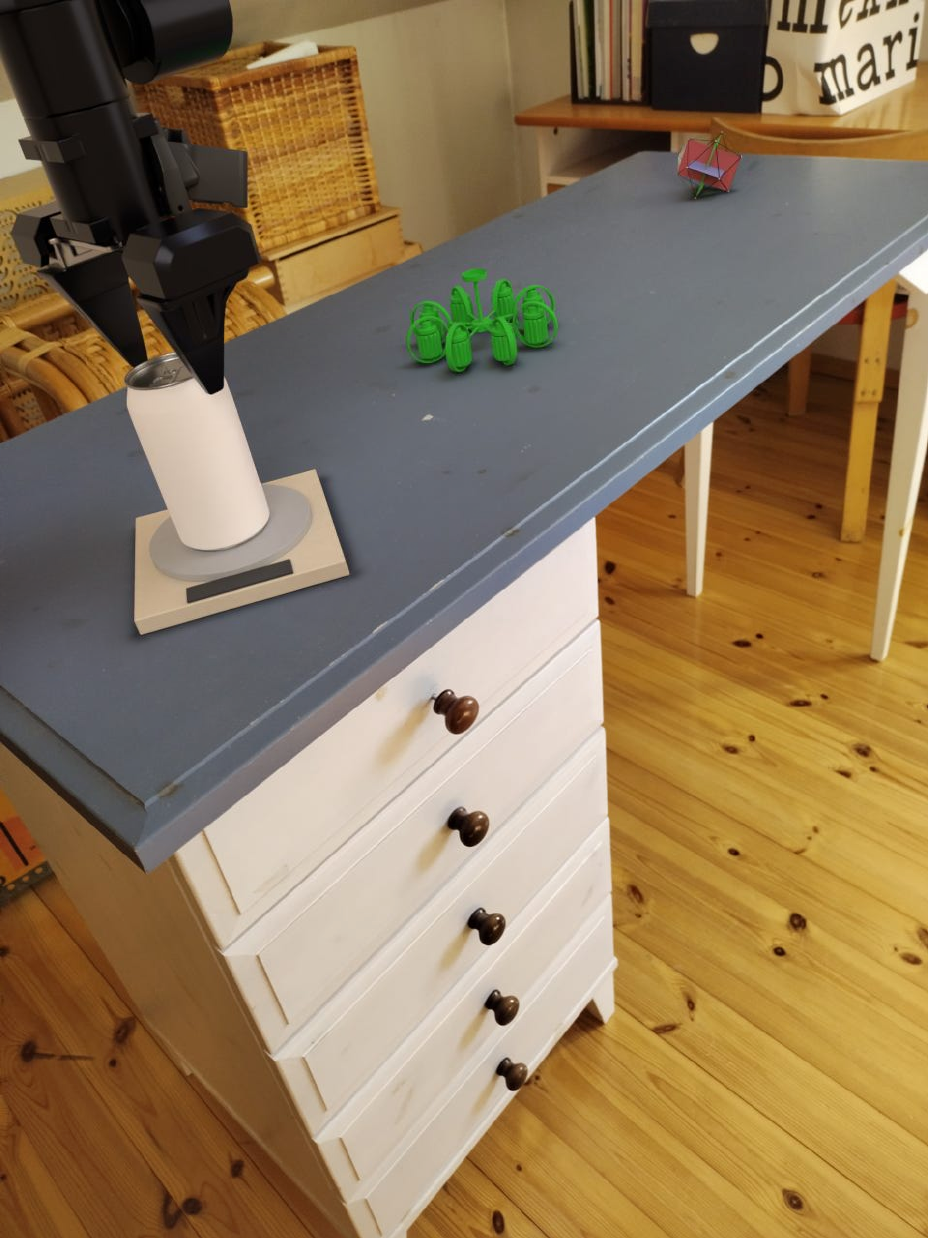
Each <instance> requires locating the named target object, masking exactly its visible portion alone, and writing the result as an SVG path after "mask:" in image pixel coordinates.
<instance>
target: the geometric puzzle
mask: <svg viewBox="0 0 928 1238" xmlns="http://www.w3.org/2000/svg"><path fill="white" fill-rule="evenodd" d="M717 134H718V135H717ZM716 135H717V136H716V137H715V138H713V139H712V140H710V141H709V140H706V139H701V141H703V142H709V143H708V144H705V143H702V142H700V141H697V138H698V136H697V137H695V138H692V137H691V138H687V141H686V143H685V144H684V146H683V147H682V149H681V150H680V151H679V153H678V155H677V166H676V167H677V169H676V175H677V176H678V177H682V178H683V179H684V180H687V181H689V182H690V184H691V188H692V191H693V193H692V191H690V193H691V194H693V197H694V199H696V200H697V198H699V197H700V198H702V197H704V195H703V196H700V195H701V194H703V193H704V192H705V191H707V190H710V188H711V187H715V188H717V189H715V188H711V191H712V190H713V191H718V189H719V191H721V192H720V194H722V193H723V194H724V192H726V193H730V188H731V186H732V184H733V183H732V182H733V180H734V178H735V175H736V173H737V170H738V167H739V164H740V161H741V159H742V158H743V156H742V155H741V154H740V153H736V152H734V151H733V150H732V149H730V148H728V147H727V145H726V141H725V138H724V137H726V135H725V134H724V131H721V132H720V133H719V132H718V133H716ZM707 136H708V134H707V135H705V137H707ZM701 137H702V138H703V135H702V136H701V135H700V138H701ZM721 137H722V139H723V143H724V145H723V144H721V143H720V139H721ZM727 140H728V142H730V141H729V139H727ZM712 142H713V143H712ZM711 143H712V144H711ZM710 144H711V145H710ZM718 145H720V146H722V147H723V148H725V150H722V149H720V148H718ZM730 145H731V146H733V144H732V143H730ZM734 150H735V151H737V149H736V148H734ZM728 151H730V152H728ZM682 178H680V180H682V181H683V179H682ZM692 180H693V181H697V182H700V184H699V185H698V184H697V183H695V182H693V181H692ZM683 183H684V182H683ZM684 184H685V183H684ZM693 184H694V185H695V186H697V187H698V190H697V192H696V194H695V190H694V186H693ZM685 185H686V184H685ZM707 185H709V186H708V187H705V186H707ZM702 189H704V190H702ZM716 194H719V192H718V193H715V195H716ZM712 195H714V193H712V194H710V196H712ZM708 196H709V194H708V195H706V194H705V197H708Z"/></svg>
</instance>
